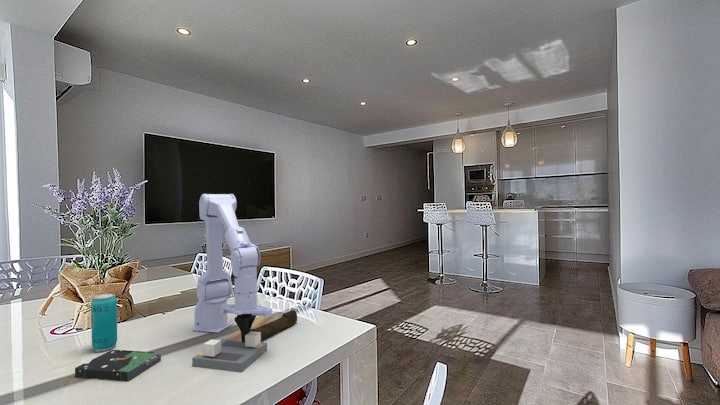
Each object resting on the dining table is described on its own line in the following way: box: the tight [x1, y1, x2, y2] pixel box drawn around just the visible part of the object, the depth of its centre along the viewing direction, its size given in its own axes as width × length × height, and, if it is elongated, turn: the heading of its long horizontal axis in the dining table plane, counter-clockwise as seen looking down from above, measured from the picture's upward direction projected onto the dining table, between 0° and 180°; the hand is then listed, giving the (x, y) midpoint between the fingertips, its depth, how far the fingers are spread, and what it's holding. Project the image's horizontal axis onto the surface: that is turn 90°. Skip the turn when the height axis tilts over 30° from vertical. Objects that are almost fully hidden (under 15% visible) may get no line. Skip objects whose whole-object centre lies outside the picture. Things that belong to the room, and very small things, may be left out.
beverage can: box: [90, 292, 118, 353], centre depth 95 cm, size 6×6×15 cm
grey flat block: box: [191, 338, 268, 373], centre depth 88 cm, size 14×12×2 cm
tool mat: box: [224, 316, 280, 340], centre depth 107 cm, size 9×23×1 cm, turn 167°
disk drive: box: [74, 349, 162, 382], centre depth 83 cm, size 10×3×15 cm
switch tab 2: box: [245, 331, 262, 347], centre depth 90 cm, size 3×3×3 cm
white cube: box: [203, 339, 221, 357], centre depth 85 cm, size 3×3×3 cm
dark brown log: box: [251, 309, 298, 341], centre depth 105 cm, size 19×4×5 cm, turn 147°
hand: (246, 340), depth 91 cm, fingers closed, pressing on switch tab 2
